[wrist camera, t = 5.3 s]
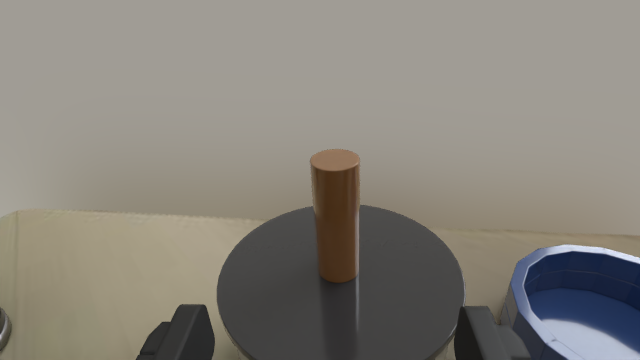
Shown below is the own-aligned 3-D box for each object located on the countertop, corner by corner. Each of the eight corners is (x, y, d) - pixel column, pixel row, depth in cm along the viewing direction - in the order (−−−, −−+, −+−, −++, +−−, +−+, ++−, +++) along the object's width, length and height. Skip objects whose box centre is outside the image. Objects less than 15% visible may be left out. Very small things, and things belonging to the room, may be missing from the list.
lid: (292, 471, 15) (265, 319, 11) (190, 263, 26) (157, 149, 22) (519, 305, 21) (558, 170, 17) (360, 196, 33) (360, 98, 28)
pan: (679, 514, 19) (720, 471, 17) (463, 332, 29) (472, 290, 27) (762, 376, 25) (800, 330, 23) (559, 264, 35) (572, 225, 33)
